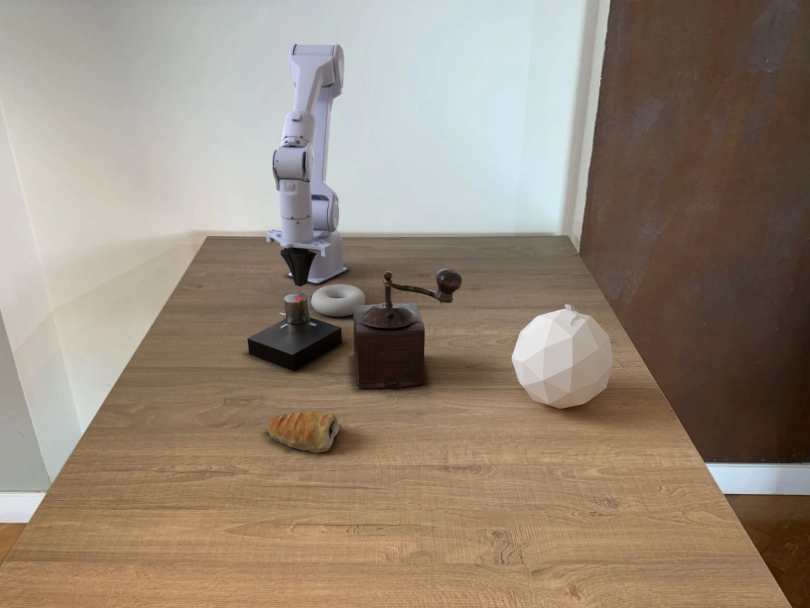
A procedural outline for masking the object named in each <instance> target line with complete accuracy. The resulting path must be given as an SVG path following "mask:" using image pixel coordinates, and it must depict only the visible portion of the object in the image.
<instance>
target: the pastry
mask: <svg viewBox="0 0 810 608" xmlns="http://www.w3.org/2000/svg"><path fill="white" fill-rule="evenodd" d="M266 430H267V432H268V434H269V436H270V437H271V438H272V439H273V440H274V441H275V442H279V443H280V444H283V445H285V446H287V447H288V448H292V449H295V450H301V451H309V452H310V453H315V454H316V453H317V454H319V453H325V452H328V451H329V450H330V448H331V447H332V445H333V443H334V438H335V437H336V436H337V435H338V434H339V431H340V425H339V421H338V418H337V416H336V415H335V414H334V413H333V412H330V413H326V412H322V411H315V410H312V409H307V410H305V411H303V412H302V411H301V412H289V413H285V414H279V415H278V416H275V417H274V418H273V419H272V420H271V421H270V422H269V423H267V425H266Z"/></svg>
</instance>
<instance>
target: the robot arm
mask: <svg viewBox="0 0 810 608" xmlns="http://www.w3.org/2000/svg"><path fill="white" fill-rule="evenodd" d="M287 56H288V57H287V62H288V63H287V64H288V72H289V74H290V77H291V80H292V83H293V87H294V99H293V100H294V101H293V108H292V109H293V110H291V111H290V112H287V114H286V116H285V120H284V125H283V129H282V134H281V139H280V143H279V147H278V148H277V149H274V151H273V154H272V158H271V169H272V175H273V176H272V177H273V178H274V181H275V189H276V191H278V197H279V209H280V223H281V230H278V229H271V230H268V231H266V232H265V236H266V237H265V238H266V243H270V244H271V243H277V244H279V245H280V247H281V248H282V249H281V250H280V253H279V254H280V256H281V258H283V261H284V262H285V263H286V264H287V267H288V269H289V272H288V277H292V280H293V283H294V285H295V286H296V287H299V288H301V287H304V286H305V285H307V284H308V283H313V284H316V285H318V284H321V283H323V282H325V281H327V280H330V279H331V278H333V277H335V276H337V275H340V274H343V273H344V272H346V271H347V267H345V266H344V248H343V237H342V236H341V233H340V232H339V231H338V227H339V222H340V207H339V203H340V202H339V201H340V200H339V199H340V198H339V196H338V193H337V191H335V190H334V189H333V188H332V187H331V186H329V185H328V184H327V171H328V161H329V160H328V158H329V157H328V156H329V146H330V145H329V144H330V131H331V118H332V109H333V104H334V99H337V98H338V97H339V96H341V95H342V94H343V93H342V92H343V88H344V78H345V54H344V49H343V48H342V45H340V44H339V43H337V44H297V43H293V44H292V45H291V46H290V48H289V50H288V55H287Z"/></svg>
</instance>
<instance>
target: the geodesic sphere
mask: <svg viewBox="0 0 810 608" xmlns="http://www.w3.org/2000/svg"><path fill="white" fill-rule="evenodd" d="M564 307H565V308H562V309H558V310H554V311H550V312H547V313H543V314H539V315H537V316H535V318H533V319H532V320H531V321H530V322H529V323H528V324H527V325H526V326H525V327H524V328H523V329H521V330H520V332H519V334H518V337H517V341H516V344H515V346H514V350H513V352H512V355H511V361H512V362H511V363H512V365H513V368H514V371H515V372H514V373H515V374H516V378H517V382H518V383H519V384H520V385H521V387H522V388H523V389H524V390H525V392H526V393H527V394H528V396H529V397H530V398H531V399H532V401H533V402H536V403H539V404H542V405H545V406H548V407H552V408H556V409H558V410H561V409H567V408H572V407H577V406H581V405H584V404H586V403H588V402H589V401H591V400H592V399H593V398H595V397H596V396H598V395H599V394H600V393H601V392H603V391H604V390H605V389H607V386H608V384H609V380H610V376H611V372H612V369H613V365H614V361H615V359H614V354H613V349H612V344H611V337H610V335H609V334H608V333H607V332H606V331H605V330H604V329H603V327H602V326H601V325H600V324H599V323H598V322H597V320H595V319H594V317H593V316H591V315H587V314H584V313H580V312H579V311H580V310H576V309H575V305H572V306H571V304H570V303H564Z"/></svg>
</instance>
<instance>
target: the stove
mask: <svg viewBox="0 0 810 608" xmlns="http://www.w3.org/2000/svg"><path fill="white" fill-rule="evenodd" d="M314 312H315V310H311V311H310V310H309V315H311V314H313V313H314ZM278 314H279V315H281V316H284V317H286V315H285V313H283V312H279V313H278ZM309 318H310V319H309V321H308V322H306V323H303V324H290V323H288V322H287V321H286V318H284V319H282V320H280V321H278V322H276V323H274V324H272V325H270V326H268V327H266V328H264V329H262V330H261V331H258V332H256V333H255V334H252V335H250V336H248V337H247V338H246V340H247V348H248V355H250V356H252V357H255V358H258V359H261V360H264V361H266V362H268V363H271V364H274V365H276V366H279V367H282V368H285V369H288V370H290V371H293V372H296V371H297V370H299V369H301V368H303V367H305V366H306V365H307V364H310V363H311V362H313V361H314V360H317V359H318V358H319V357H321V356H324V355H325V354H326V353H328V352H330V351H332V350H333V349H335V348H337V347H339V346H340V345H341V344H343V329H342V326H339V325H336V324H332V323H329V322H326V321H322V320H320V319H317V318H314V317H310V316H309Z"/></svg>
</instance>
